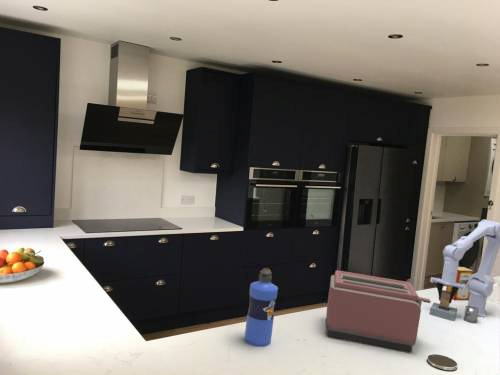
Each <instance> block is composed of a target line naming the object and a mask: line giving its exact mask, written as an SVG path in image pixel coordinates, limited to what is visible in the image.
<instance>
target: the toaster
mask: <svg viewBox="0 0 500 375" xmlns="http://www.w3.org/2000/svg"><path fill="white" fill-rule="evenodd" d="M329 283H330V284H329V289H328V290H329V291H328V297H327V306H326V315H325V321H326V322H325V323H326V325H327V329H326V330H327V332H326V335H327V337H328V338H332V339H337V340H342V341H348V342H354V343H358V344H363V345H369V346H373V347H374V346H375V347H378V348H379V347H380V348H384V349H389V350H395V351H400V352H404V353H411V352H412V349H413V346H414V345H415V344H416V341H417V339H418V333H419V327H420V326H419V324H420V320H421V312H422V303H428V304H431V301H432V300H431V299H430V298H427V297H422V296H419V295H418V292H417V291H416V290H415V288H414V286H413V284H412V283H411V282H409V281H404V280H397V279H392V278H385V277H379V276H373V275H367V274H361V273H356V272H355V273H354V272H349V271H344V270H335V272H334V274H332V275H331V276H330V282H329Z"/></svg>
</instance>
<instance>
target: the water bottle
mask: <svg viewBox="0 0 500 375" xmlns="http://www.w3.org/2000/svg"><path fill="white" fill-rule="evenodd" d="M272 274H273V272H272V271H271V269H269V268H268V267H267V268H266V267H265V268H263V269H262V270H260V271H259V275H258V280H257V281H254V282H251V283H250V286H249V294H248V295H249V307H248V311H247V315H246V321H245V324H246V325H245V331H244V341H245V343H247V344H248V345H250V346H252V347H253V346H254V347H262V348H263V347H268V346H270V345H271V343H272V335H273V334H272V333H273V327H274V321H275V320H274V319H275V318H274V315H275V314H274V312H275V311H274V308H275V304H276V300H277V298H278V290H279V287H278V286H277V285H275V284H273V283H272V278H273V277H272Z"/></svg>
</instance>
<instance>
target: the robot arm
mask: <svg viewBox="0 0 500 375" xmlns="http://www.w3.org/2000/svg"><path fill="white" fill-rule="evenodd" d="M482 237H485V238H486V240H487V244H486V247H485V250H484V252H483V254H482V258H481V261H480V264H479V267H478V270H477V272H474V274H472V275H471V278H470V279H469V281H468V283H467V288H468V289H469V292H470V296H469V300H468V302H467V306H473V307H476V308H478V309H479V312H478V317H481V318H485V316H486V312H487V311H486V306H487V299H488V298H490V296H491V295H492V294H493V291H494V284H495V283H494V281H493V279H492V277H491V275H492V272H493V269H494V266H495V262H496V260H497V256H498V254H499V250H500V222H497V221H493V220H489V219H482V220H481V221H479V222H478V224H477V227H476V228H475V229H474V230H472V231H471V233H469V234H468V235H466V236H464V235H463V236H461V237H459V239H457V240H456V241H455V242H454V243H452V244H448V245H446V246H444V248H443V250H442V255H443V267H442V268H443V270H442V273H441V274H442V276H441V278H439V277H432V276H431V277H430V281H429V282H430V283H434V284H436V289H437V293H438V301H439V302H440V300H441V293H442V291H443V289H444V286H445V287H447V286H450V287H452V289H451V296H450V300H449V303H450V304H452V301H453V296H454V295H455V293H456V292H457V291H458V289H462V290H466V285H462V284H459V283H456V282H455V281H456V275H457V269H458V267H459V262H460V260H462V259H463V257H464V255H465V253H466V252H467V251H468V250H470V248H472V247H473V246H474V243H475V242H476V241H477V240H478V241H479V239H480V238H482Z"/></svg>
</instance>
